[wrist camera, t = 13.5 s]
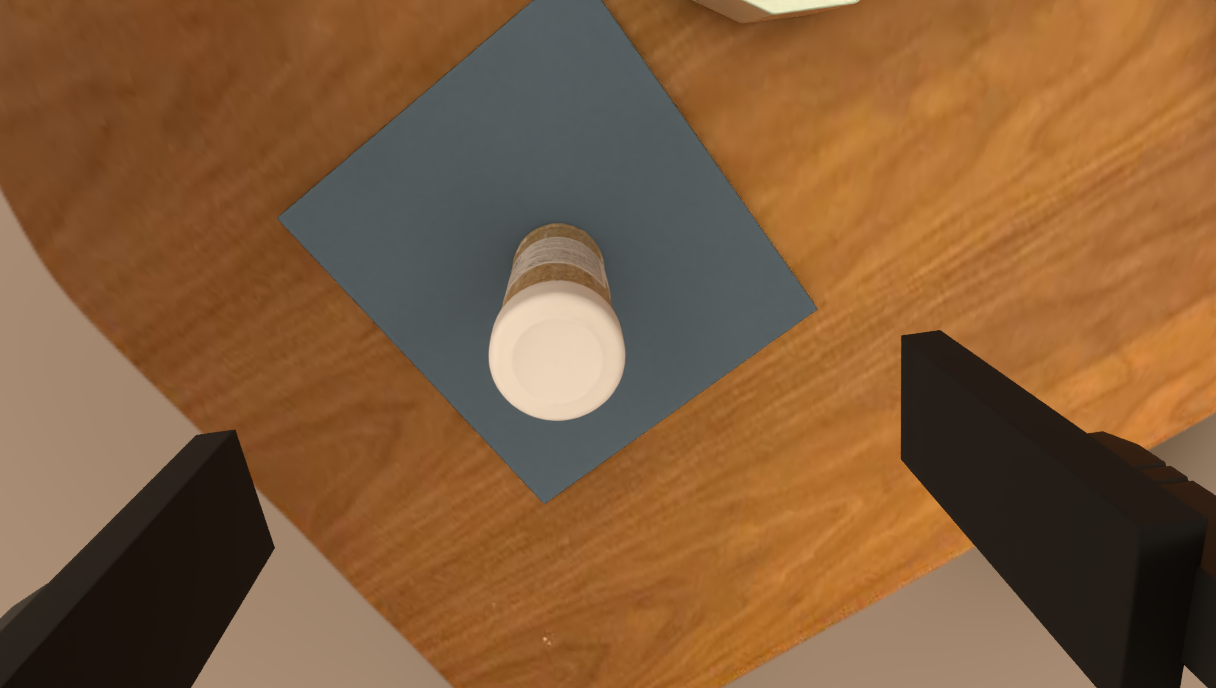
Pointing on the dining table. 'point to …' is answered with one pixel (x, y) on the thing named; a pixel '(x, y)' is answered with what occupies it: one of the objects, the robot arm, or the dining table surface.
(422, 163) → the rubber mat
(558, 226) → the sprinkles bottle
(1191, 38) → the dining table surface
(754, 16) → the pale green ring
